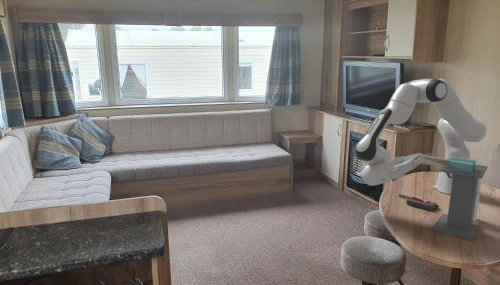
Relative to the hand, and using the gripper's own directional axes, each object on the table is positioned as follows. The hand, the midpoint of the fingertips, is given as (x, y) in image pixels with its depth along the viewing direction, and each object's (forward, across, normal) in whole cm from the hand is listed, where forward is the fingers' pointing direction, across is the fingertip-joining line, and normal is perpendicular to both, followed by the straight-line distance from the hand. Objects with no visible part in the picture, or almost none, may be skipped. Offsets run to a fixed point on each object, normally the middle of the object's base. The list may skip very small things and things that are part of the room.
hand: (428, 156), depth 154 cm
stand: (-3, +3, +32) cm, 32 cm away
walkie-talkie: (-21, +20, +22) cm, 37 cm away
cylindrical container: (-2, +17, +32) cm, 37 cm away
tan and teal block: (+4, 0, +6) cm, 7 cm away
